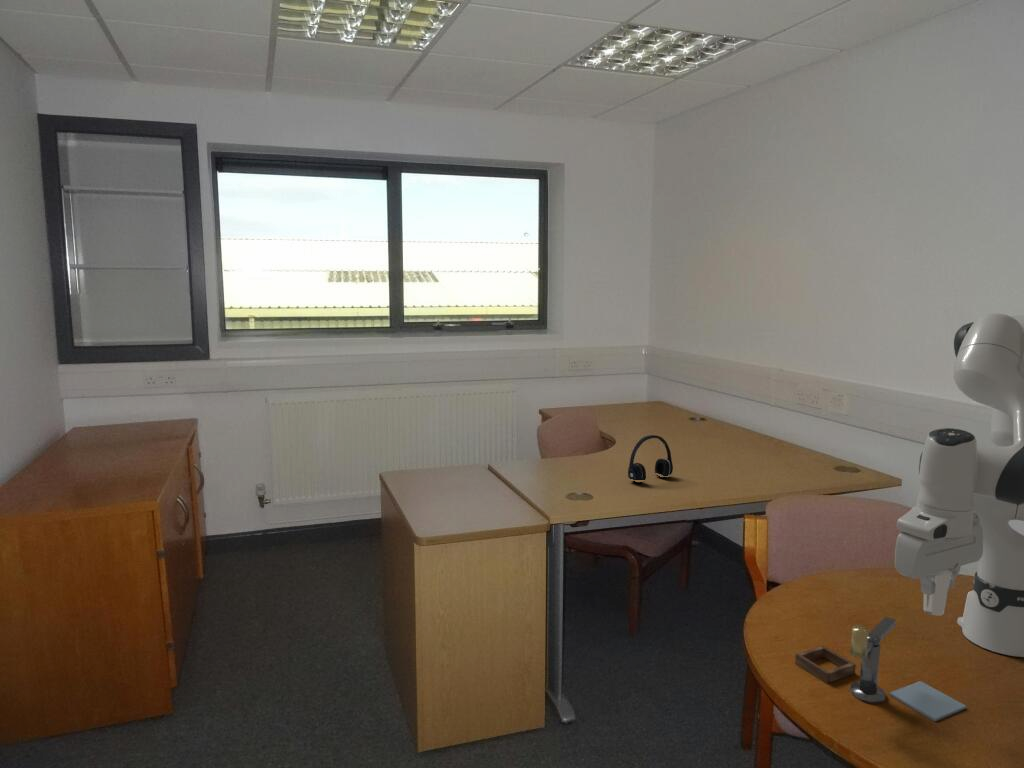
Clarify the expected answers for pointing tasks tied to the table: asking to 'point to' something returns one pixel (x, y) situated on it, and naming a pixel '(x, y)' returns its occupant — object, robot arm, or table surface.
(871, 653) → the latch post
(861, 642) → the lever
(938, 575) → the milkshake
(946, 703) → the pad
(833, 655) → the brown square frame
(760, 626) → the table surface
